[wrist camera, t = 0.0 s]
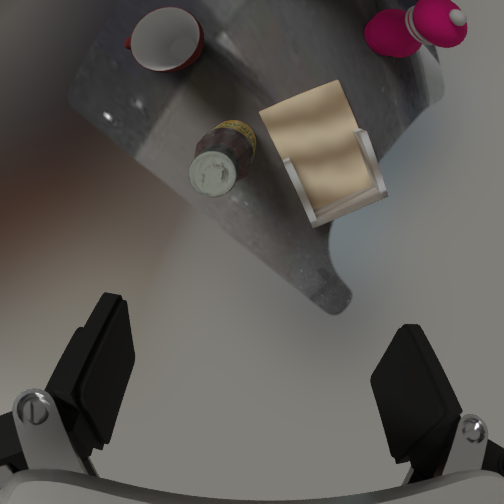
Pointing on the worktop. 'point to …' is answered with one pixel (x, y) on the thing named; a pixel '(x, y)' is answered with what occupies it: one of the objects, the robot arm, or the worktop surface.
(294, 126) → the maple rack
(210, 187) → the sauce bottle
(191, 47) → the mug
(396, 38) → the pepper mill
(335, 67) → the worktop surface
